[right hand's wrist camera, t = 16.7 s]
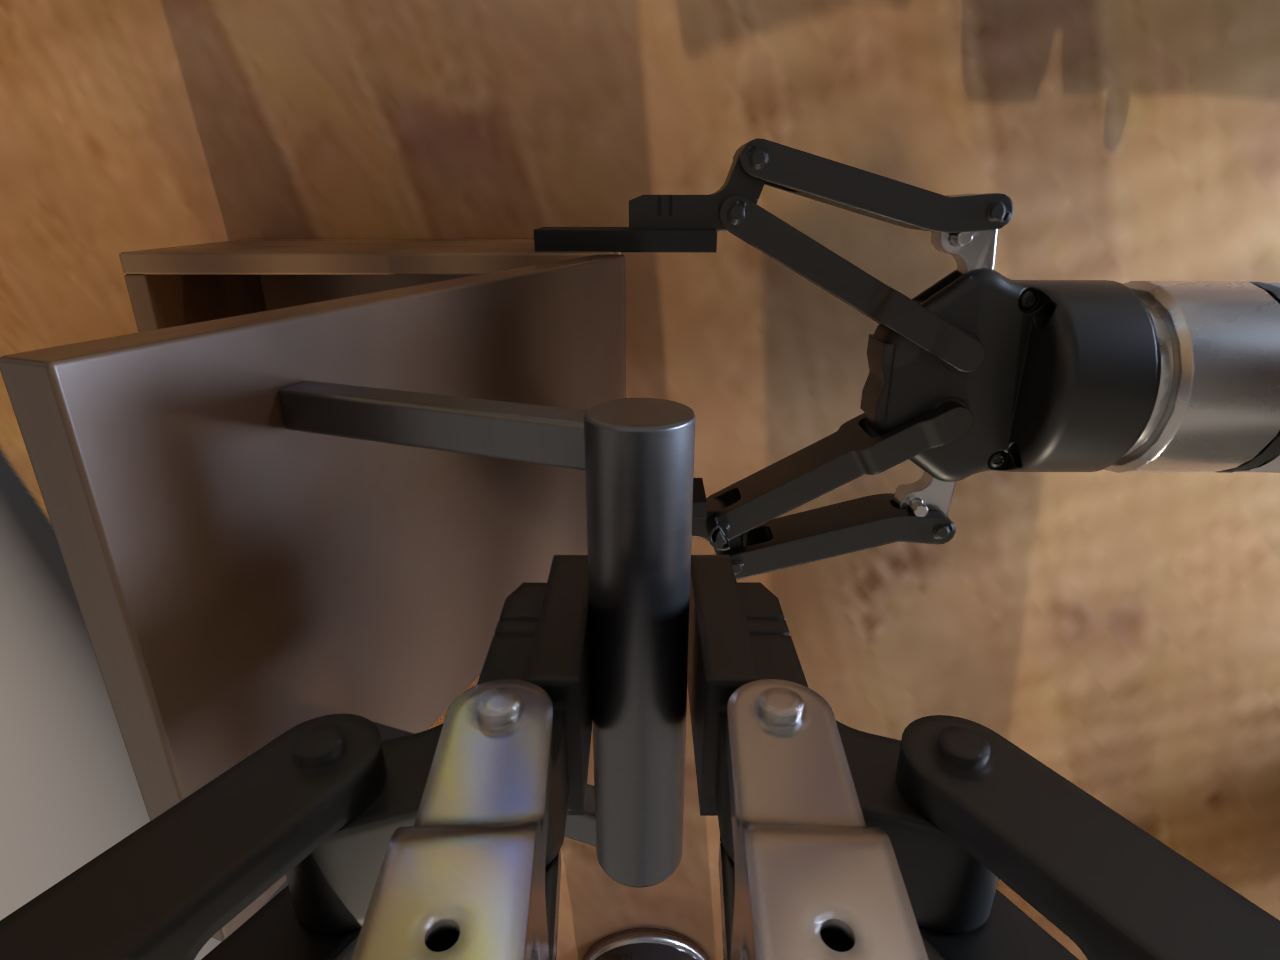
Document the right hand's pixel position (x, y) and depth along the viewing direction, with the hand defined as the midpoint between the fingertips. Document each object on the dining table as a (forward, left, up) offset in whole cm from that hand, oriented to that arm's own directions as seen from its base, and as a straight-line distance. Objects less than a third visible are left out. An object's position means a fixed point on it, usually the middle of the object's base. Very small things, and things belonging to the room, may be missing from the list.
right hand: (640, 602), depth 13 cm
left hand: (+2, +3, -17) cm, 18 cm away
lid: (+3, +4, -6) cm, 8 cm away
